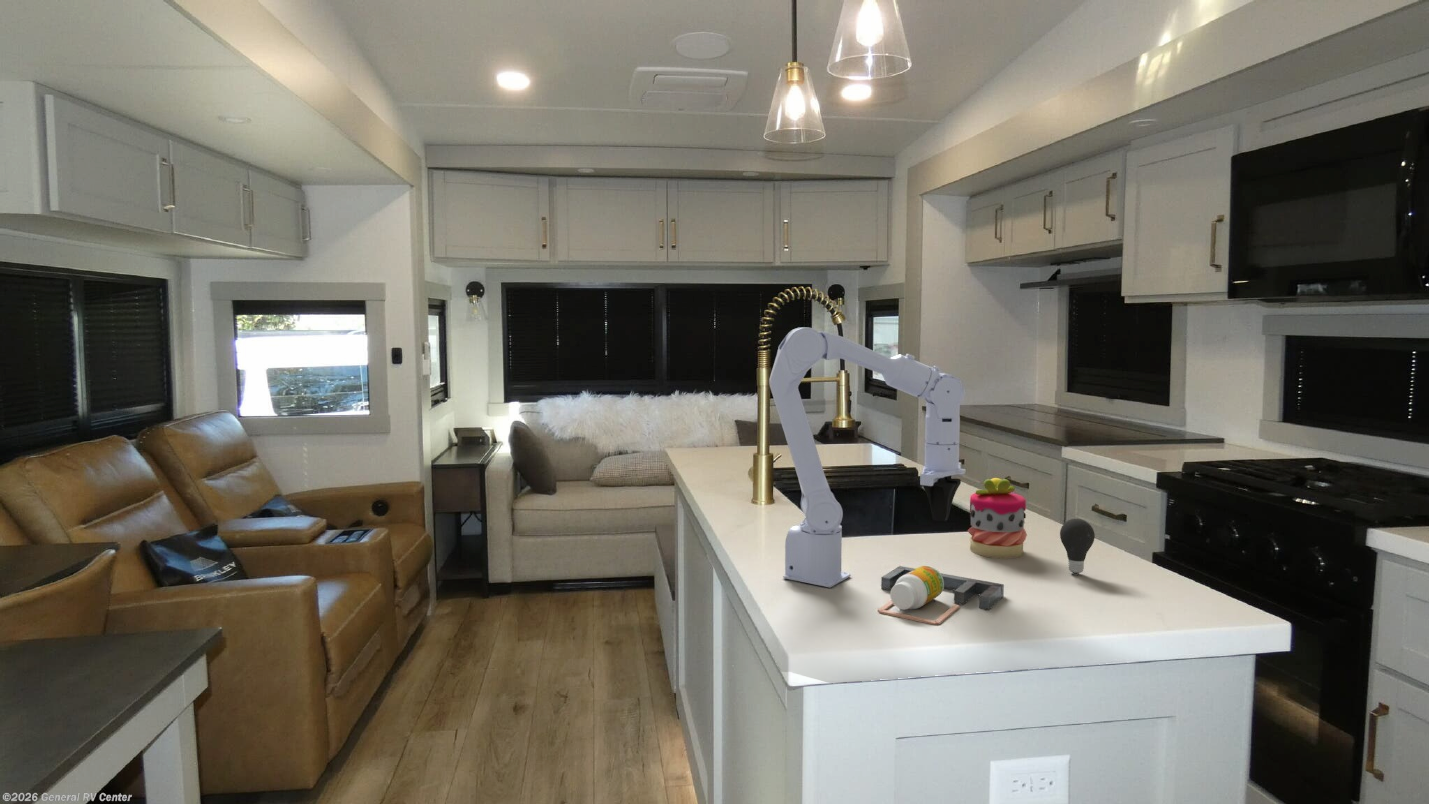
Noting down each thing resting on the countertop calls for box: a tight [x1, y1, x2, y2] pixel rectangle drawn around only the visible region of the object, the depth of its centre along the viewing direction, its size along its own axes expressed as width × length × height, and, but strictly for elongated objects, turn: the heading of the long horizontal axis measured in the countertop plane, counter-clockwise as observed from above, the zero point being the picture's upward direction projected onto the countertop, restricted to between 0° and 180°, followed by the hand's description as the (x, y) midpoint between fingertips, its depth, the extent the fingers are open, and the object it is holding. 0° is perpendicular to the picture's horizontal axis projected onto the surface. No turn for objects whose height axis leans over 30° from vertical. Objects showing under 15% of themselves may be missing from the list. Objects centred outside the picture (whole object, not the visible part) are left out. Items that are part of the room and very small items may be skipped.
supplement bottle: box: [889, 565, 945, 610], centre depth 128 cm, size 5×5×10 cm
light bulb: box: [1059, 518, 1096, 576], centre depth 143 cm, size 6×6×10 cm
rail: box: [880, 565, 1005, 611], centre depth 134 cm, size 18×8×2 cm, turn 54°
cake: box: [967, 477, 1028, 559], centre depth 158 cm, size 10×11×15 cm
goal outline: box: [877, 599, 961, 626], centre depth 126 cm, size 10×9×1 cm
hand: (940, 520), depth 141 cm, fingers closed
